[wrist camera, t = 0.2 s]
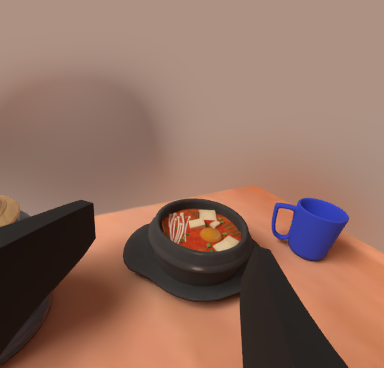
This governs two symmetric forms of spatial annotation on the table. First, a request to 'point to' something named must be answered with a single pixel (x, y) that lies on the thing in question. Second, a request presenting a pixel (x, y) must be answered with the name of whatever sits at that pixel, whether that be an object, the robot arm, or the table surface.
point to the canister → (9, 213)
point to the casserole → (192, 250)
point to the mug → (312, 227)
